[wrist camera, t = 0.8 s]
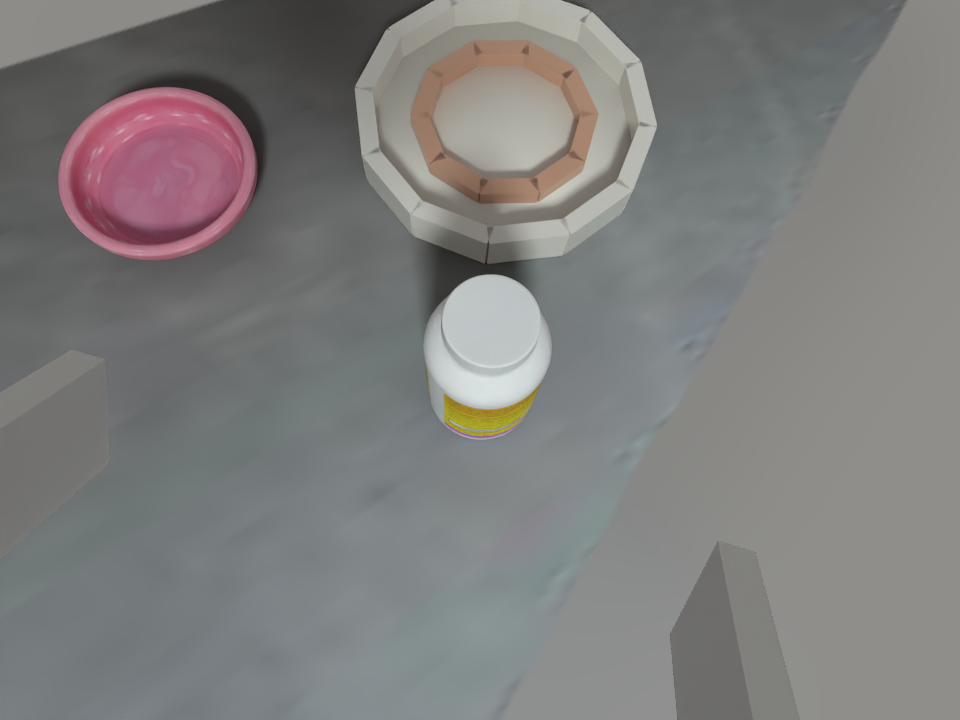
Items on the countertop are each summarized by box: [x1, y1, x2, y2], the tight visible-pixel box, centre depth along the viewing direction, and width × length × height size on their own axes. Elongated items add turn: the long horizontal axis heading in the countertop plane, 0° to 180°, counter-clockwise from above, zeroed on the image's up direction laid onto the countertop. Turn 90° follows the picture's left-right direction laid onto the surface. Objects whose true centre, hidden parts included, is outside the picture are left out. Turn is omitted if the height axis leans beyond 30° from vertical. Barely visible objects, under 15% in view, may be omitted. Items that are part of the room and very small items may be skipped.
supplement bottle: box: [423, 274, 552, 440], centre depth 38 cm, size 7×7×13 cm
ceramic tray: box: [355, 0, 657, 264], centre depth 49 cm, size 20×20×3 cm
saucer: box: [58, 87, 258, 260], centre depth 46 cm, size 12×12×3 cm
